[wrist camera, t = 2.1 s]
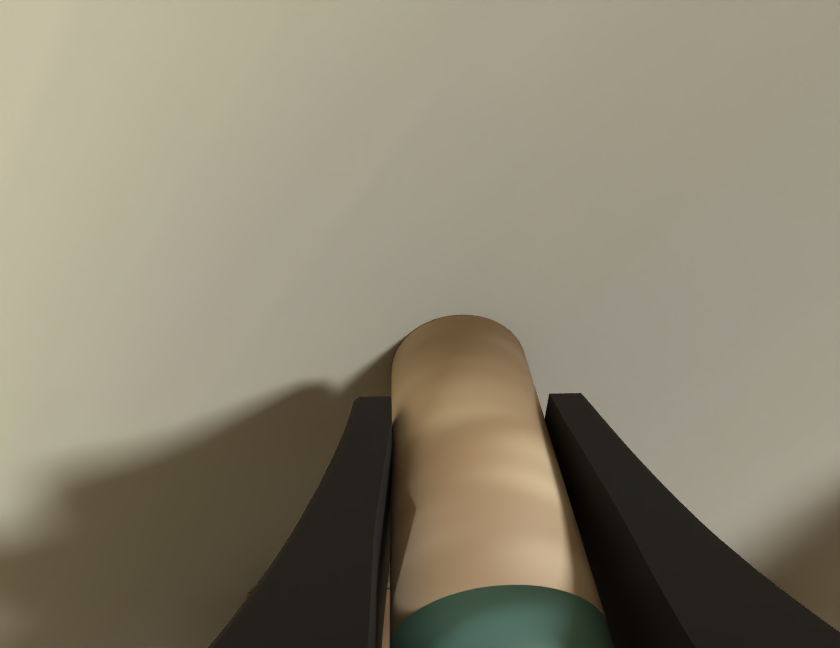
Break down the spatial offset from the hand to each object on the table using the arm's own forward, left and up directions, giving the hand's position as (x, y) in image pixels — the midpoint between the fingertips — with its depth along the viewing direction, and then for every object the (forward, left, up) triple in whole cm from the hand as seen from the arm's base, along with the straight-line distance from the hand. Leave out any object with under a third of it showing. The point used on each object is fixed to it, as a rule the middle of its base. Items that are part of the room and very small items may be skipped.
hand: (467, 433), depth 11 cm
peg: (0, 0, -2) cm, 2 cm away
